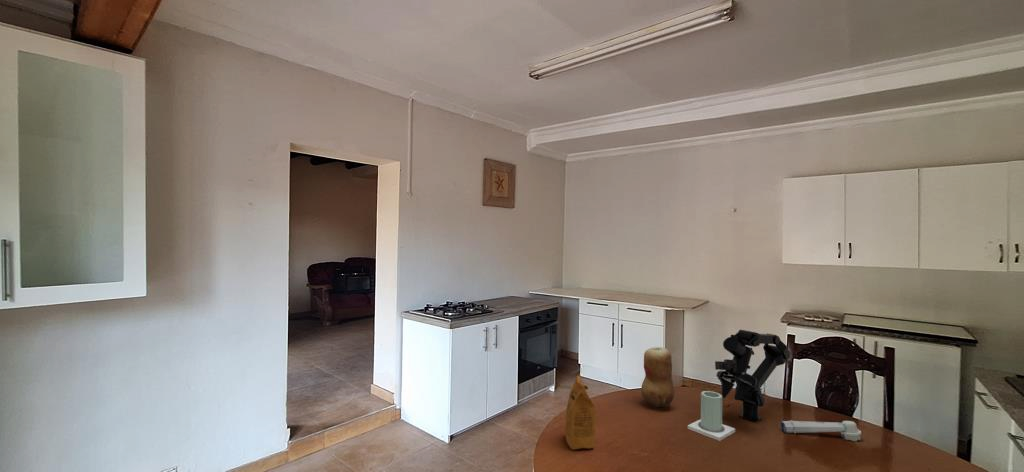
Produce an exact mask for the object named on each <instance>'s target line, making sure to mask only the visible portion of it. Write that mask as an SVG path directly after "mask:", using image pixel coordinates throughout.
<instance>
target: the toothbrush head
mask: <svg viewBox="0 0 1024 472" xmlns="http://www.w3.org/2000/svg"><path fill="white" fill-rule="evenodd" d="M779 425H780V428H781V431H782V432H783V434H785V433H786V434H788V433H789V434H794V435H795V434H796V433H797V434H800V433H801V434H802V433H803V434H804V433H805V434H807V433H840V436H841V437H840V438H842V439H844V440H847V441H848V440H849V441H852V442H858V441H861V439H862V438H861V435H862V431H861V430H859V428H858V426H857V423H856V422H854V421H852V420H842V422H837V421H835V422H830V421H807V420H806V421H802V420H792V419H790V420H782V421H780V422H779Z"/></svg>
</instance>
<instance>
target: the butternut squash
mask: <svg viewBox="0 0 1024 472" xmlns="http://www.w3.org/2000/svg"><path fill="white" fill-rule="evenodd" d="M643 369H644V374H645V375H644V379H643V381H642V383H641V389H640V391H641V396H642V397H643V399H644V400H645V401H646V402H647V403H649V404H650V405H651V406H653V407H655V408H661V407H663V408H666V407H668V406H670V404H671V403H672V402H673V401H674V399H675V392H676V391H675V387H674V383H673V378H672V377H673V374H672V372H673V363H672V353H670V351H669V350H668V349H667V348H666V347H658V346H655V347H650V348H647V349H646V350H645V351H644V354H643Z"/></svg>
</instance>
